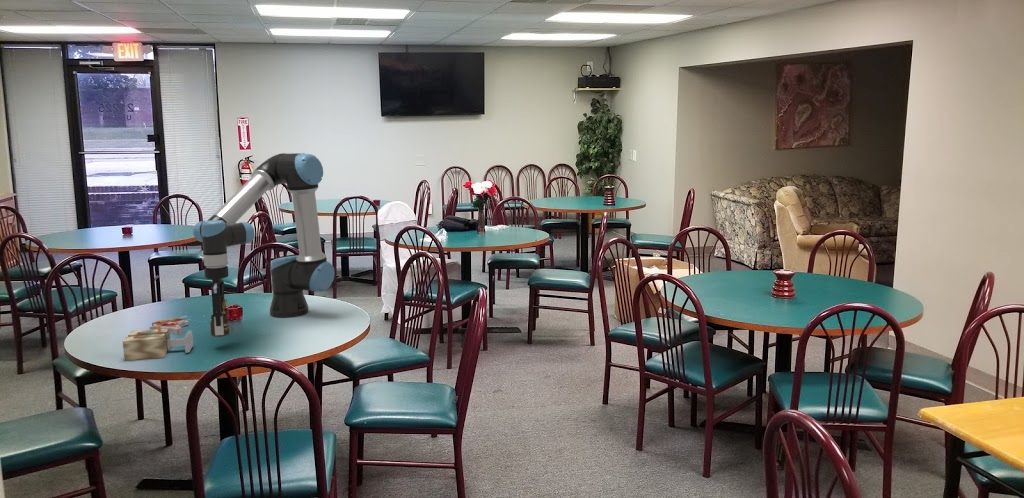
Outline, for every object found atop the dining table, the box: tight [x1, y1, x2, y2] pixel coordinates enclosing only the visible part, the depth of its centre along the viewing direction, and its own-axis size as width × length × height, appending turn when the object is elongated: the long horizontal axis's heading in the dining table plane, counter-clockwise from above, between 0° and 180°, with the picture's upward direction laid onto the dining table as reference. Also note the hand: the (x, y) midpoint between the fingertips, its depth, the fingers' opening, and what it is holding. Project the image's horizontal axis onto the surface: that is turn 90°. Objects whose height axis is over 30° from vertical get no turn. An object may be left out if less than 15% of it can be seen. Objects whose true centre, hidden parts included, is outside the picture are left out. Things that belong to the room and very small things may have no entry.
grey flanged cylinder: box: [158, 325, 194, 354], centre depth 261 cm, size 14×9×9 cm, turn 104°
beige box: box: [122, 328, 171, 361], centre depth 260 cm, size 12×13×7 cm
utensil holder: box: [210, 298, 230, 338], centre depth 265 cm, size 6×6×12 cm
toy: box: [149, 315, 189, 336], centre depth 291 cm, size 15×4×20 cm
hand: (220, 332), depth 265 cm, fingers closed on utensil holder, 6 cm apart
